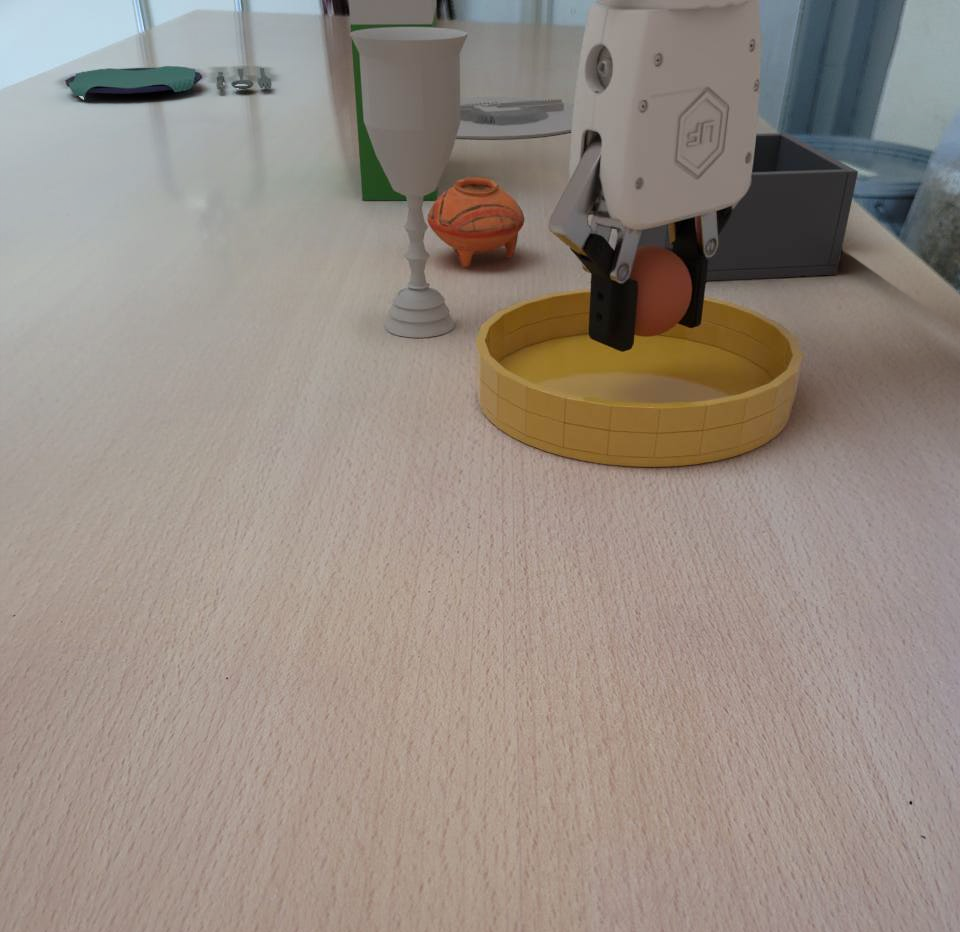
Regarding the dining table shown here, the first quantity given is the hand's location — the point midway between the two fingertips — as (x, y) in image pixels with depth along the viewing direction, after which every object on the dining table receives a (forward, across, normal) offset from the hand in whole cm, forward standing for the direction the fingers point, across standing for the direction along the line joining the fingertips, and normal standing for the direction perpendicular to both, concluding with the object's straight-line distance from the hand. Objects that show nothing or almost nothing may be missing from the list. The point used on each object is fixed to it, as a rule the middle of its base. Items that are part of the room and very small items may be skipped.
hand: (645, 329), depth 60 cm
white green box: (+4, +20, +55) cm, 59 cm away
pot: (+4, +9, +28) cm, 30 cm away
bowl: (+4, -1, 0) cm, 4 cm away
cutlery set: (+4, +23, +124) cm, 126 cm away
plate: (+5, +48, +77) cm, 91 cm away
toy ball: (-2, 0, 0) cm, 2 cm away
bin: (+5, +26, +17) cm, 32 cm away
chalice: (+4, -4, +18) cm, 19 cm away
